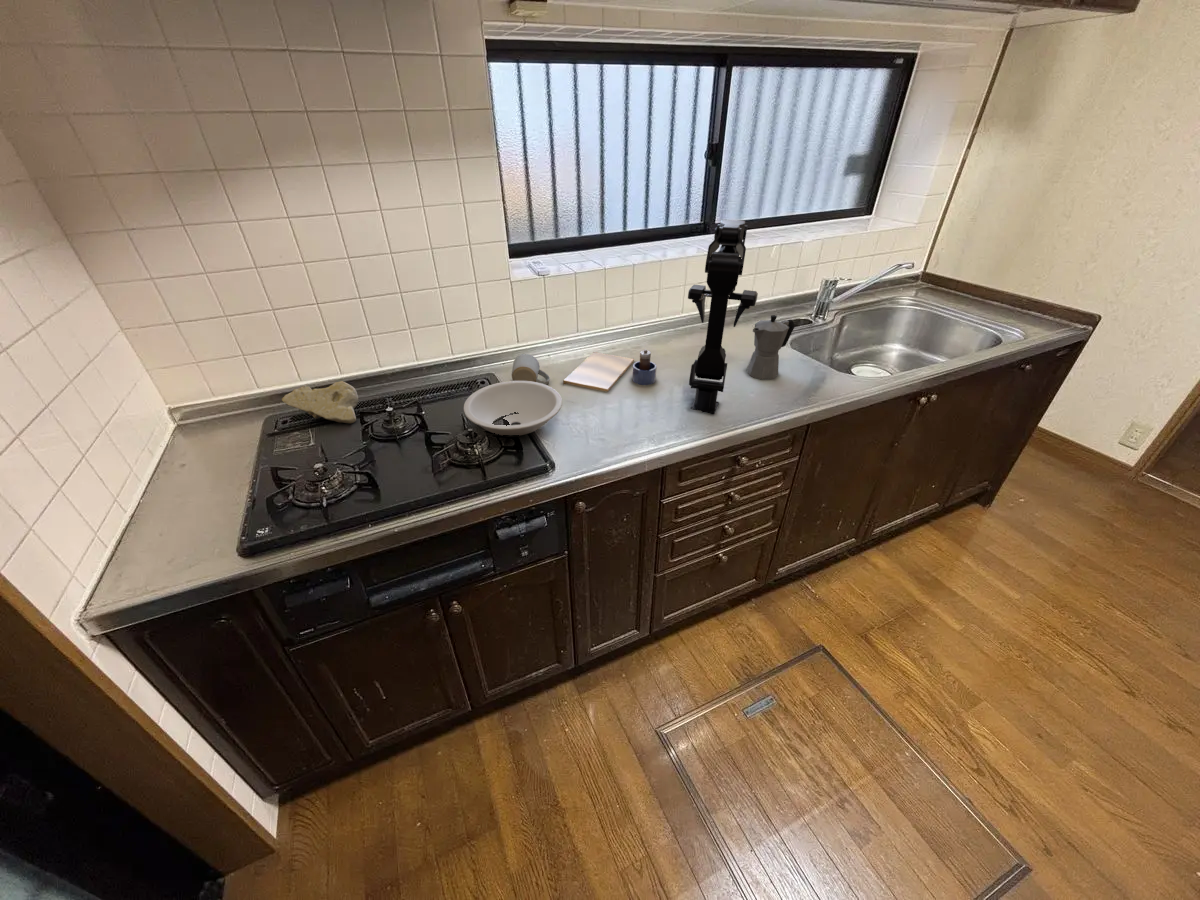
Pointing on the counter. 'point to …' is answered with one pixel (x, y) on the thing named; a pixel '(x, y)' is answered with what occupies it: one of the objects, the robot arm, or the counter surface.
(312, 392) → the beige irregular pointed piece
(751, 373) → the coffeepot
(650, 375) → the holder cup
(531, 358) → the ceramic mug
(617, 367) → the bamboo board
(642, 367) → the pepper mill
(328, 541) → the counter surface
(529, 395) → the soup bowl
